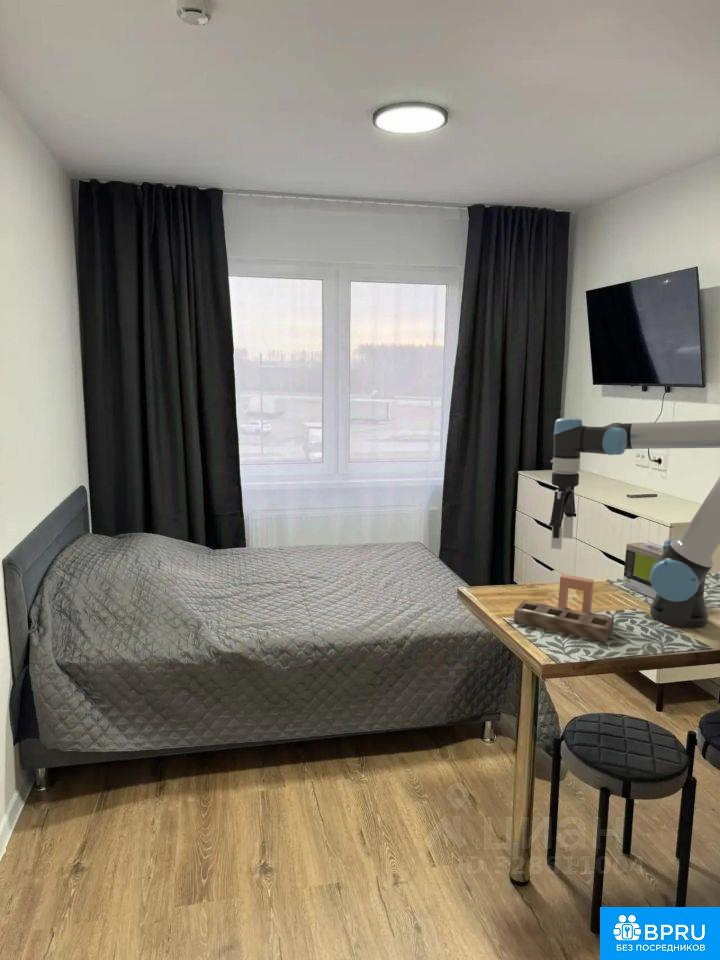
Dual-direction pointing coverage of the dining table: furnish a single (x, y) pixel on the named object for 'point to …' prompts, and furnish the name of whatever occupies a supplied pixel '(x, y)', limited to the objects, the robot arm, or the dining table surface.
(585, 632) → the brown compartment rack
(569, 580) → the pink u-shaped block
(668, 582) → the robot arm
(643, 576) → the grey electronic device
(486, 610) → the dining table surface
